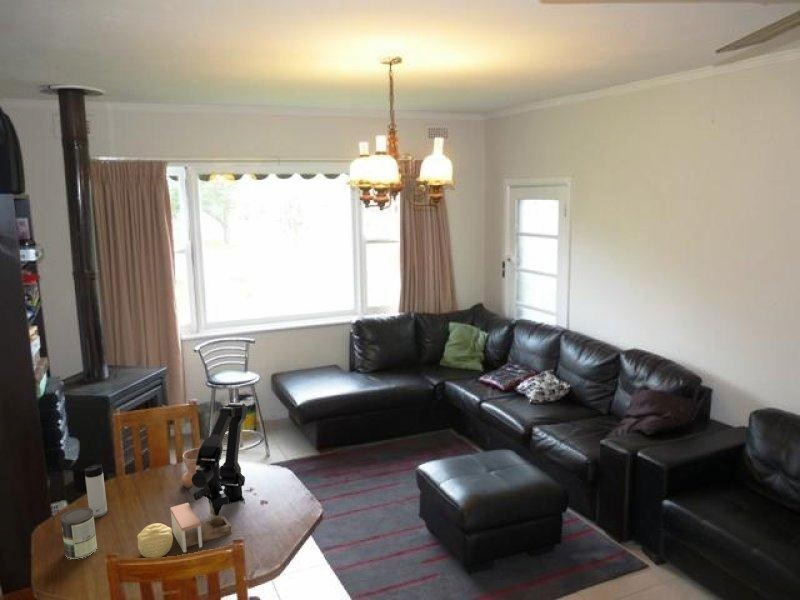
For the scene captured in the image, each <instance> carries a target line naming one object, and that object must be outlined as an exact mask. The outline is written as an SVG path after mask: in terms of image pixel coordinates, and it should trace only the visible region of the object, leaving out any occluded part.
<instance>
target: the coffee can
mask: <svg viewBox="0 0 800 600" xmlns="http://www.w3.org/2000/svg"><path fill="white" fill-rule="evenodd" d="M60 524H61V533H62V539H63V546H64V556H66V557H67V558H66V557H65V558H66V559H68V558H70V559H69V560H71V559H78V558H82V559H84V558H83V557H85V558H87V557H86V556H88V557H90V556H92V555H93V554H94V553H95V552H96V551H97V550H98V546H97V545H98V544H97V536H96V535H97V534H96V526H95V517H93V510H92V509H91V508H89V507H77V508H73V509H70V510H68V511H66V512H65V513H63V514H62V515H61V516H60ZM96 549H97V550H96ZM93 552H94V553H93ZM92 553H93V554H92ZM91 554H92V555H91ZM89 555H90V556H89ZM78 560H79V559H78Z"/></svg>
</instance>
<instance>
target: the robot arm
mask: <svg viewBox="0 0 800 600" xmlns="http://www.w3.org/2000/svg"><path fill="white" fill-rule="evenodd" d="M248 412H249V409H248V406H247V405H246V404H245V403H243V402H242V403H240V402H238V403H237V402H229V403H228V404H227V405H223V406H222V407H221V408H220V409H219V415H218V418H217V419H216V422H215V423H214V427H213V429H212V431H211V432H210V435H209V436H208V437H207V438H205V439H204V441H203V442H202V444H201V445H200V447H199V448H200V449H199V453H198V457H197V461H196V465H200V467H199V468H198V469H197V470H196V473H195V474H194V475H193V476H192V483H193V485H194V487H192V488H191V489H190V488H189V489H188V491H189V493H190V495H191V497H192V499H194V501H198V500H200V499H202V498H203V497H205V498H206V499H207V500H208V504H209V506H210V505H211V506H212V507H213V509H214V513H215V516H217V515H219V512H220V513H221V510H222V507H223V506H226V505H229V504H233V503H235V502H238V501H242V500H244V499H245V498H244V497H243V486H245V482H246V477H245V476H244V475H243V474H242V467H241V466H240V464H239V460H238V459H239V451H240V442H241V441H240V440H241V431H242V429H241V428H242V425H243V423H244V422H245V421H246V419H247V414H248ZM227 430H228V433H227ZM226 433H227V443H226V450H225V451H226V452H225V461H224V462H223V464H222V465H221V464H220V461H221V460H222V454H223V449H224V446H223V443H222V442H223V440H224V437H225V435H226ZM202 458H203V459H208V460H201V459H202ZM220 492H222V493H220ZM209 500H210V501H209Z"/></svg>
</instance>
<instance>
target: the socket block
mask: <svg viewBox="0 0 800 600" xmlns="http://www.w3.org/2000/svg"><path fill="white" fill-rule="evenodd" d="M232 532H233V531H232V525H231V523H230V521H228V520H227V518H226V517H225V516H224V515H223V516H220V518H217V519H213V520H211V519H210V520H207V521H202V522H201V536H202V543H204V542H208V541H210V540H213V539H217V538H220V537H223V536H227V535H230V534H232ZM185 539H186V548H188V547H191V546H194V545H197V544H198V545H199V543H198V531H197V527H195V528H192V529H188V530H185Z"/></svg>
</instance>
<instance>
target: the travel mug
mask: <svg viewBox="0 0 800 600" xmlns="http://www.w3.org/2000/svg"><path fill="white" fill-rule="evenodd" d="M103 470H104V469H103V464H101V463H96V464H93V465H92V464H91V465H89V466H88V467H86V468H84V478H85V485H86V486H85V487H86V494H87V501H88V503H87V504H88V508H91V509H92V510H93V517H94V518H101V517H103V516H105V515H106V514H107V513H108V505H107V498H106V497H107V496H106V488H105V479H104V471H103Z"/></svg>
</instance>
